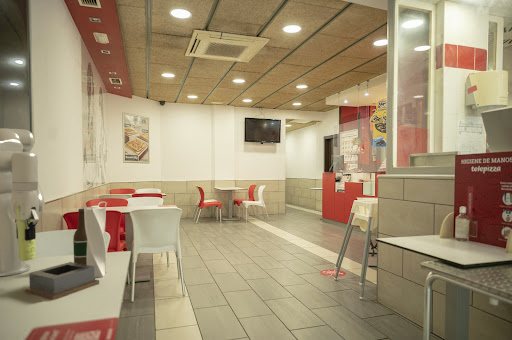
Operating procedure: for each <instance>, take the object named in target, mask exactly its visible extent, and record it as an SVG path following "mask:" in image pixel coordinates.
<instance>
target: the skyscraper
mask: <svg viewBox="0 0 512 340" xmlns="http://www.w3.org/2000/svg"><path fill="white" fill-rule="evenodd" d="M102 203H105V205H104V207H100V204H102ZM107 205H108V202H106V200H105V201H104V200H103V201H100V202H99V203H98V204H97V205H92V206H85V207H84V218H85V229H86V235H87V265H89V266H94V269H95V279H96V278H103V277H104V276H105V274H106V273H107V252H106V251H107V250H106V249H107V248H106V241H105V237H104V236H105V231H106V222H107V221H106V219H107V217H106V216H107V215H106V214H107V213H106V212H107ZM86 208H87V209H86Z"/></svg>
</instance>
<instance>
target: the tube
mask: <svg viewBox="0 0 512 340" xmlns="http://www.w3.org/2000/svg"><path fill="white" fill-rule="evenodd" d="M19 212H20V211H19V206H17V226H18V259H19V260H20V261H26V262H27V261H31V260H34V259H36V238H35V239H33V240H28V241H26V240H25V229H26V225H25V221H21V220H19ZM30 219H32V218H29V219H28V220H30ZM30 222H32V221H29V223H30Z"/></svg>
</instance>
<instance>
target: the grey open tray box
mask: <svg viewBox="0 0 512 340" xmlns="http://www.w3.org/2000/svg"><path fill="white" fill-rule="evenodd" d="M28 275H29V276H28V277H29V279H28V280H29V286H28V287H26V288H25V287H24V292H25V293H28V294H31V295H34V296H37V297H40V298H44V299H48V300H51V301H54V300H55V301H56V300H58V299H60V298H63V297H66V296H69V295H72V294H74V293H78V292H81V291H83V290H85V289H88V288H91V287H96V286H98V285H100V280H99V279H96V278H95V269H94V266H89V265H83V264H78V263H74V261H72V262H71V261H68V262H65V263H61V264H58V265H53V266H50V267H46V268H43V269H38V270H35V271H31V272H29V273H28Z"/></svg>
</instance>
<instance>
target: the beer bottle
mask: <svg viewBox="0 0 512 340" xmlns="http://www.w3.org/2000/svg"><path fill="white" fill-rule="evenodd" d="M84 208H85V207H84ZM84 208H83V207H82V208H78V210H77V212H78V223H77V229H76V230H75V232H74V235H73V238H72V239H73V241H72V242H73V243H72V244H73V263H78V264H83V265H87V235H86V229H85V218H84ZM86 209H88V208H86Z"/></svg>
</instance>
